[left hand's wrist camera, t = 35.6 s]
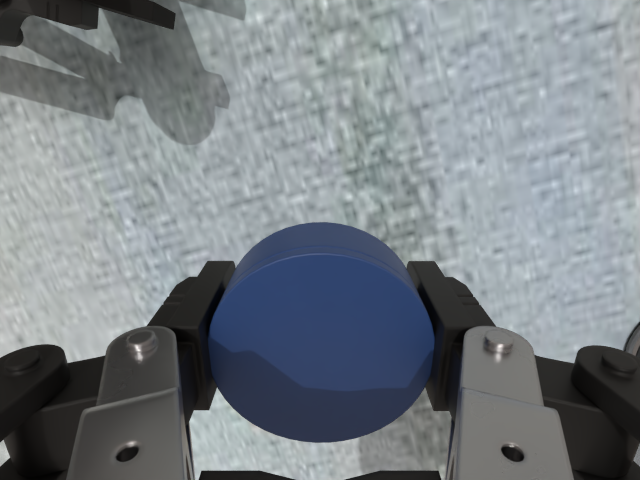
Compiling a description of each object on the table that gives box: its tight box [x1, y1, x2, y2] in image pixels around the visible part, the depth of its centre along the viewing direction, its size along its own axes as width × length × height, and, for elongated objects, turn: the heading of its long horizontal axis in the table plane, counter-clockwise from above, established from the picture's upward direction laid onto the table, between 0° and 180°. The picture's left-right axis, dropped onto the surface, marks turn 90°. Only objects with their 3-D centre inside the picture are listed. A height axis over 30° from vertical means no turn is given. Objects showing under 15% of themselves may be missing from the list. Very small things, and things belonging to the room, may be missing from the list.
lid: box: [208, 222, 435, 443], centre depth 10 cm, size 5×5×2 cm
